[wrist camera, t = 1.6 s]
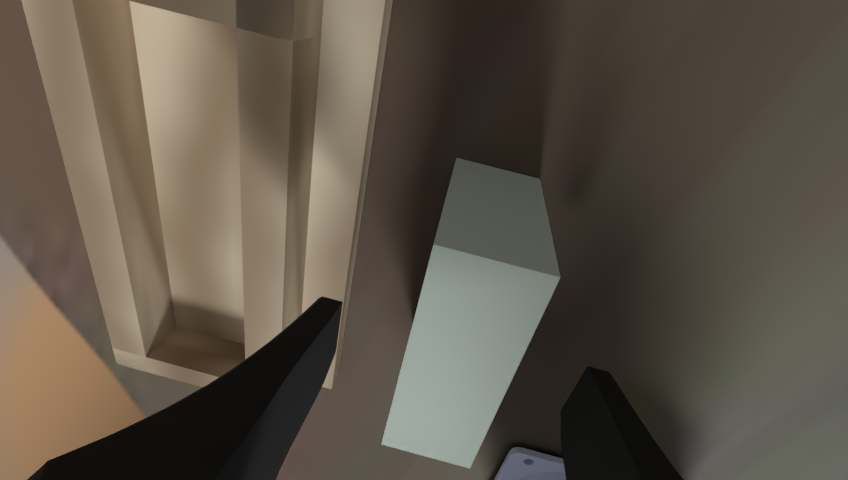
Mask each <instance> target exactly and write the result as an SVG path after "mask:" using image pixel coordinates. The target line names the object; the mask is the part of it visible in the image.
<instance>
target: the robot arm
mask: <svg viewBox="0 0 848 480" xmlns="http://www.w3.org/2000/svg"><path fill="white" fill-rule="evenodd" d="M342 303H343V302H342V301H338V300H334V299H331V298H327V297H323V296H322V297H320V298H318V299H317V300H316V301H315V302H314V303H313V304H312V305H311V306H310V307H309V308H308V309H307V310H306V311H305V312H304V313H302V314H301V315H300V316H299V317H298V318H297V319H296V320H295V321H293V322H292V323H291V324H290V325H289V326H288V327H286V328H285V329H284V330H283V331H282V332H280V333H279V334H278V335H277V336H276V337H274V338H273V339H272V340H271V341H269V342H268V343H267V344H266V345H264V346H263V347H262V348H260V349H259V350H258V351H256V352H255V353H254V354H252V355H251V356H249V357H248V358H247V359H245V360H244V361H243V362H241V363H240V364H238V365H237V366H235V367H234V368H233V369H231V370H230V371H228V372H227V373H225V374H224V375H222V376H220V377H219V378H217V379H216V380H214V381H212V382H211V383H209V384H208V385H206V386H204V387H203V388H201V389H199V390H198V391H196V392H194V393H192V394H191V395H189V396H187V397H185V398H184V399H182V400H180V401H178V402H176V403H175V404H173V405H171V406H169V407H167V408H165V409H163V410H161V411H159V412H157V413H155V414H153V415H151V416H149V417H147V418H145V419H143V420H141V421H139V422H137V423H135V424H133V425H131V426H129V427H127V428H125V429H122V430H120V431H118V432H116V433H114V434H111V435H109V436H107V437H105V438H102V439H100V440H98V441H95V442H93V443H90V444H88V445H86V446H83V447H81V448H78V449H76V450H73V451H71V452H69V453H66V454H64V455H61V456H59V457H56V458H54V459H51V460H49V461H47V462H46V463H45V464H44V465H43V466H42V467H41V468H40V469H39V470H38V471H36V472H35V473H34V474H33V475H32V476H31V477H30V478H29V479H27V480H276V477H277V475H278V473H279V470H280V468H281V466H282V464H283V462H284V459H285V457H286V455H287V453H288V451H289V449H290V447H291V445H292V443H293V442H294V440H295V438H296V436H297V434H298V432H299V430H300V428H301V426H302V424H303V422H304V420H305V418H306V416H307V415H308V413H309V411H310V409H311V407H312V405H313V403H314V401H315V399H316V397H317V395H318V393H319V391H320V389H321V387H322V385H323V383H324V381H325V378H326V376H327V373H328V371H329V368H330V366H331V363H332V360H333V358H334V355H335V352H336V348H337V340H338V333H339V325H340V318H341V310H342ZM561 447H562V454H563V458H559V457H555V456H552V455H548V454H544V453H541V452H537V451H533V450H530V449H526V448H522V447H514V448H512V449H511V450H510V451H509V453H508V455H507V456H506V458H505V460H504V462H503V464H502V466H501V468H500V469H499V471H498V473H497V475H496V477H495V479H494V480H683V479H682V478H681V476H680V475H679V474H678V472H677V471H676V470H675V468H674V467H673V466H672V464H671V463H670V462H669V460H668V459H667V458H666V456H665V455H664V453H663V452H662V451H661V449H660V448H659V446H658V445H657V443H656V442H655V441H654V439H653V438H652V436H651V435H650V433H649V432H648V430H647V429H646V427H645V426H644V424H643V423H642V421H641V420H640V418H639V417H638V415H637V414H636V412H635V411H634V409H633V408H632V406H631V405H630V403H629V402H628V400H627V398H626V397H625V395H624V394H623V392H622V391H621V389H620V388H619V386H618V385H617V383H616V382H615V380H614V379H613V377H612V376H611V374H610V373H609V372H607V371H603V370H599V369H596V368H592V367H587V368H586V370H585V372H584V373H583V375H582V377H581V378H580V380H579V382H578V383H577V385H576V387H575V388H574V390H573V392H572V393H571V395H570V396H569V398H568V400H567V401H566V403H565V405H564V406H563V408H562V410H561Z"/></svg>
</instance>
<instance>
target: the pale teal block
mask: <svg viewBox="0 0 848 480" xmlns="http://www.w3.org/2000/svg"><path fill="white" fill-rule="evenodd" d="M560 278H561V277H560V273H559V268H558V263H557V258H556V253H555V249H554V244H553V239H552V234H551V229H550V224H549V220H548V215H547V210H546V205H545V200H544V195H543V191H542V186H541V181H540V179H538V178H534V177H530V176H526V175H522V174H519V173H515V172H511V171H507V170H503V169H499V168H495V167H491V166H487V165H483V164H479V163H476V162H472V161H468V160H464V159H460V158H456V161H455V165H454V168H453V172H452V176H451V180H450V183H449V187H448V191H447V195H446V199H445V202H444V206H443V210H442V214H441V218H440V221H439V225H438V229H437V233H436V237H435V240H434V244H433V248H432V252H431V256H430V259H429V263H428V267H427V271H426V275H425V279H424V283H423V286H422V290H421V294H420V298H419V302H418V306H417V309H416V313H415V317H414V321H413V325H412V329H411V332H410V336H409V340H408V344H407V348H406V352H405V355H404V359H403V363H402V367H401V371H400V375H399V378H398V382H397V386H396V390H395V394H394V398H393V401H392V405H391V409H390V413H389V417H388V421H387V424H386V428H385V432H384V436H383V440H382V445H386V446H389V447H393V448H397V449H400V450H404V451H408V452H411V453H415V454H419V455H422V456H426V457H429V458H433V459H437V460H440V461H444V462H448V463H451V464H455V465H459V466H462V467H466V468H469V469H470V467H471V465H472V463H473V461H474V459H475V457H476V455H477V452H478V450H479V448H480V446H481V444H482V442H483V440H484V438H485V436H486V433H487V431H488V429H489V427H490V425H491V423H492V421H493V419H494V417H495V415H496V412H497V410H498V408H499V406H500V404H501V402H502V400H503V398H504V396H505V393H506V391H507V389H508V387H509V385H510V383H511V381H512V379H513V377H514V375H515V372H516V370H517V368H518V366H519V364H520V362H521V360H522V358H523V356H524V353H525V351H526V349H527V347H528V345H529V343H530V341H531V339H532V337H533V335H534V332H535V330H536V328H537V326H538V324H539V322H540V320H541V318H542V316H543V313H544V311H545V309H546V307H547V305H548V303H549V301H550V299H551V297H552V294H553V292H554V290H555V288H556V286H557V284H558V282H559V280H560Z"/></svg>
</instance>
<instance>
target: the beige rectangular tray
mask: <svg viewBox="0 0 848 480" xmlns="http://www.w3.org/2000/svg"><path fill="white" fill-rule="evenodd" d="M22 4H23V8H24V12H25V16H26V19H27V23H28V27H29V31H30V35H31V38H32V42H33V46H34V50H35V54H36V58H37V61H38V65H39V69H40V73H41V77H42V80H43V84H44V88H45V92H46V96H47V100H48V103H49V107H50V111H51V115H52V119H53V122H54V126H55V130H56V134H57V138H58V142H59V145H60V149H61V153H62V157H63V161H64V164H65V168H66V172H67V176H68V180H69V184H70V187H71V191H72V195H73V199H74V203H75V206H76V210H77V214H78V218H79V222H80V226H81V229H82V233H83V237H84V241H85V245H86V248H87V252H88V256H89V260H90V264H91V268H92V271H93V275H94V279H95V283H96V287H97V290H98V294H99V298H100V302H101V306H102V310H103V313H104V317H105V321H106V325H107V329H108V332H109V336H110V340H111V344H112V348H113V352H114V355H115V359H116V363H117V364H119V365H123V366H127V367H130V368H134V369H138V370H141V371H145V372H149V373H152V374H156V375H159V376H163V377H167V378H170V379H174V380H178V381H181V382H185V383H189V384H192V385H196V386H200V387H204V386H206V385H208V384H209V383H211V382H212V381H214V380H216V379H217V378H219V377H220V376H222V375H224V374H225V373H227V372H228V371H230V370H231V369H233V368H234V367H235V366H237V365H238V364H240V363H241V362H243V361H244V360H245V359H247V358H248V357H249V356H251V355H252V354H254V353H255V352H256V351H258V350H259V349H260V348H262V347H263V346H264V345H266V344H267V343H268V342H269V341H271V340H272V339H273V338H274V337H276V336H277V335H278V334H279V333H280V332H282V331H283V330H284V329H285V328H286V327H288V326H289V325H290V324H291V323H292V322H293V321H295V320H296V319H297V318H298V317H299V316H300V315H301V314H302V313H304V312H305V311H306V310H307V309H308V308H309V307H310V306H311V305H312V304H313V303H314V302H315V301H316V300H317V299H318V298H320V297H322V296H323V297H327V298H331V299H334V300H338V301H342V302H343V303H342V310H341V318H340V325H339V333H338V340H337V348H336V352H335V355H334V358H333V360H332V363H331V366H330V368H329V371H328V373H327V376H326V378H325V381H324V383H323V385H322V387H324V388H328V389H332V388H333V385H334V383H335V381H336V378H337V376H338V373H339V366H340V359H341V353H342V346H343V339H344V332H345V325H346V318H347V312H348V305H349V298H350V291H351V284H352V277H353V270H354V264H355V257H356V250H357V243H358V236H359V229H360V223H361V216H362V209H363V202H364V195H365V188H366V182H367V175H368V168H369V161H370V154H371V147H372V141H373V134H374V127H375V120H376V113H377V106H378V99H379V93H380V86H381V79H382V72H383V65H384V58H385V52H386V45H387V38H388V31H389V24H390V17H391V11H392V4H393V0H22Z"/></svg>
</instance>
